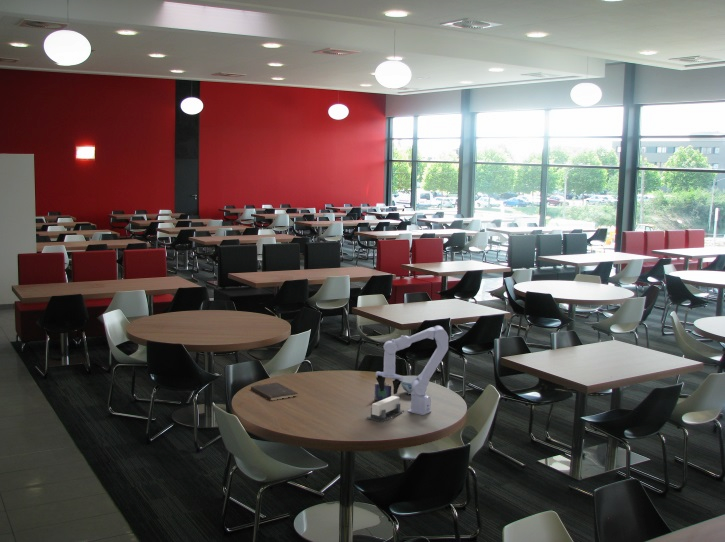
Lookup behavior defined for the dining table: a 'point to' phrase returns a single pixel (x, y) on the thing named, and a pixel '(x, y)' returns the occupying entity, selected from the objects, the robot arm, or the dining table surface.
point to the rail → (385, 405)
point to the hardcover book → (273, 391)
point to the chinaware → (408, 383)
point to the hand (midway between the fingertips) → (388, 392)
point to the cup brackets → (385, 414)
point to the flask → (383, 394)
